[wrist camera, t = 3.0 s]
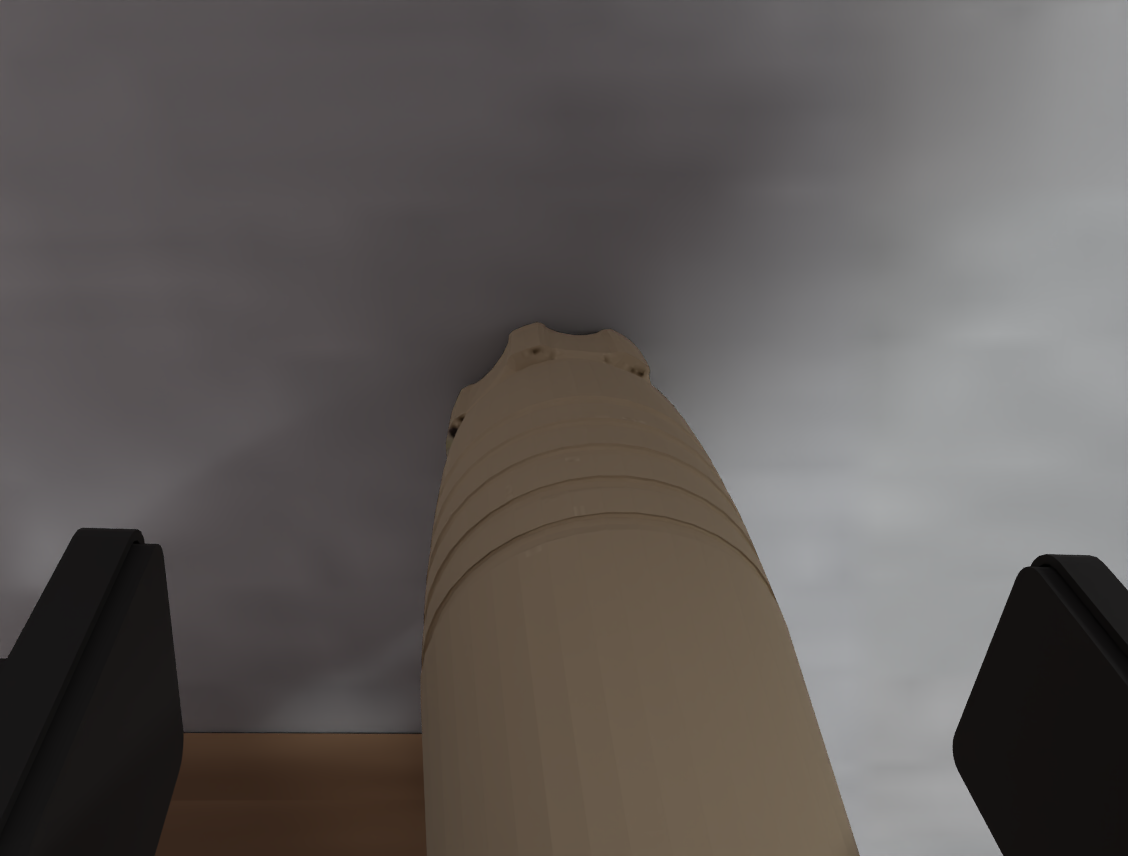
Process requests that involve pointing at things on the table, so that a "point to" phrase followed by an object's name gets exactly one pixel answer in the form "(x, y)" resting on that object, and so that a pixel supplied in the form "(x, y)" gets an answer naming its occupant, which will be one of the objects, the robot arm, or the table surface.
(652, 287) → the table surface
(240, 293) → the table surface
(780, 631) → the handle
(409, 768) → the block
